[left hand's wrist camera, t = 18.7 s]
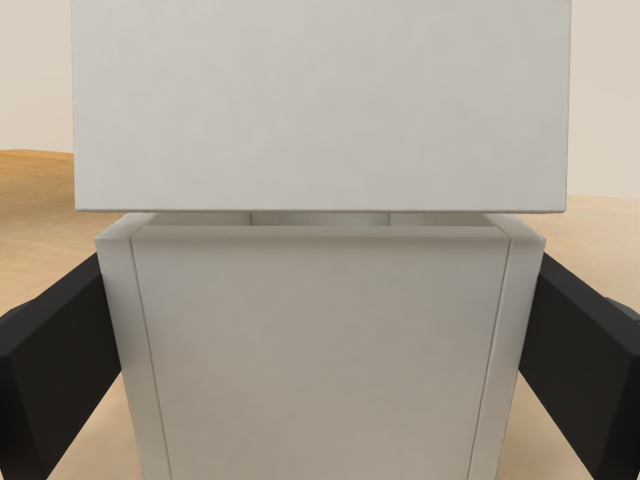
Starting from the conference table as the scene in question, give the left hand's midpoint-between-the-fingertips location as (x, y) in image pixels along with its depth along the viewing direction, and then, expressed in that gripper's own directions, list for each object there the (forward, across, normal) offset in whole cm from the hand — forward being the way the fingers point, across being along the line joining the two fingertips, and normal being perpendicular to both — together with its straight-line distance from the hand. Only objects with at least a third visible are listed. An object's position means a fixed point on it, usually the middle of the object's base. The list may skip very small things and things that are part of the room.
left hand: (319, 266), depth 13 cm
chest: (+5, 0, -6) cm, 8 cm away
